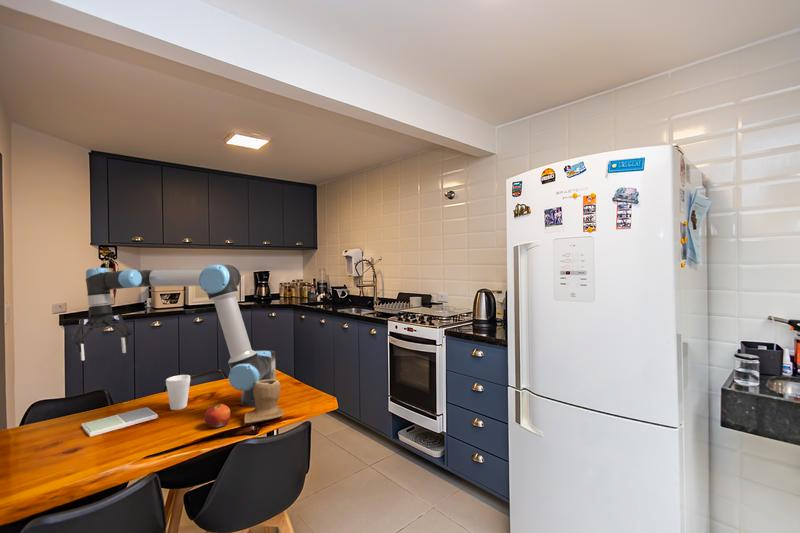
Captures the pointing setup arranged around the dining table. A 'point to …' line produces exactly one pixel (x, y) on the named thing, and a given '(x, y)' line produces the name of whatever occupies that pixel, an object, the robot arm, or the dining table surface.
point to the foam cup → (178, 391)
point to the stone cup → (265, 401)
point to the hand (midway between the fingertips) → (104, 356)
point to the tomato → (217, 415)
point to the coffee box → (273, 364)
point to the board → (118, 421)
